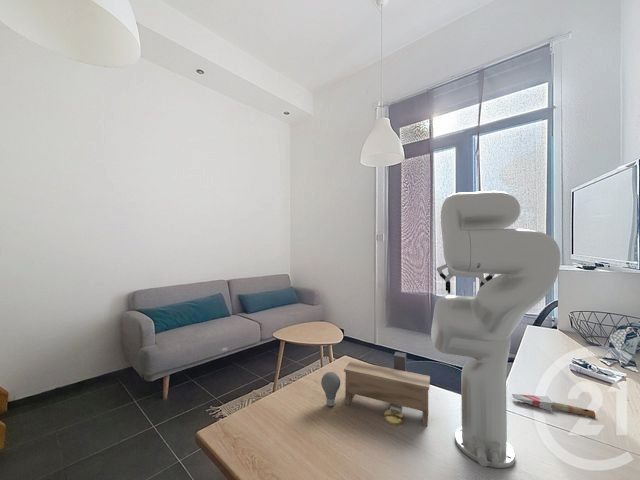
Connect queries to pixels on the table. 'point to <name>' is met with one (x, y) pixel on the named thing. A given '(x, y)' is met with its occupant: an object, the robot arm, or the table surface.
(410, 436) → the table surface
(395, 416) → the token
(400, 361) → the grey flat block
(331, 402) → the light bulb
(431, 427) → the table surface
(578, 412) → the paintbrush
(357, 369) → the wooden bench
